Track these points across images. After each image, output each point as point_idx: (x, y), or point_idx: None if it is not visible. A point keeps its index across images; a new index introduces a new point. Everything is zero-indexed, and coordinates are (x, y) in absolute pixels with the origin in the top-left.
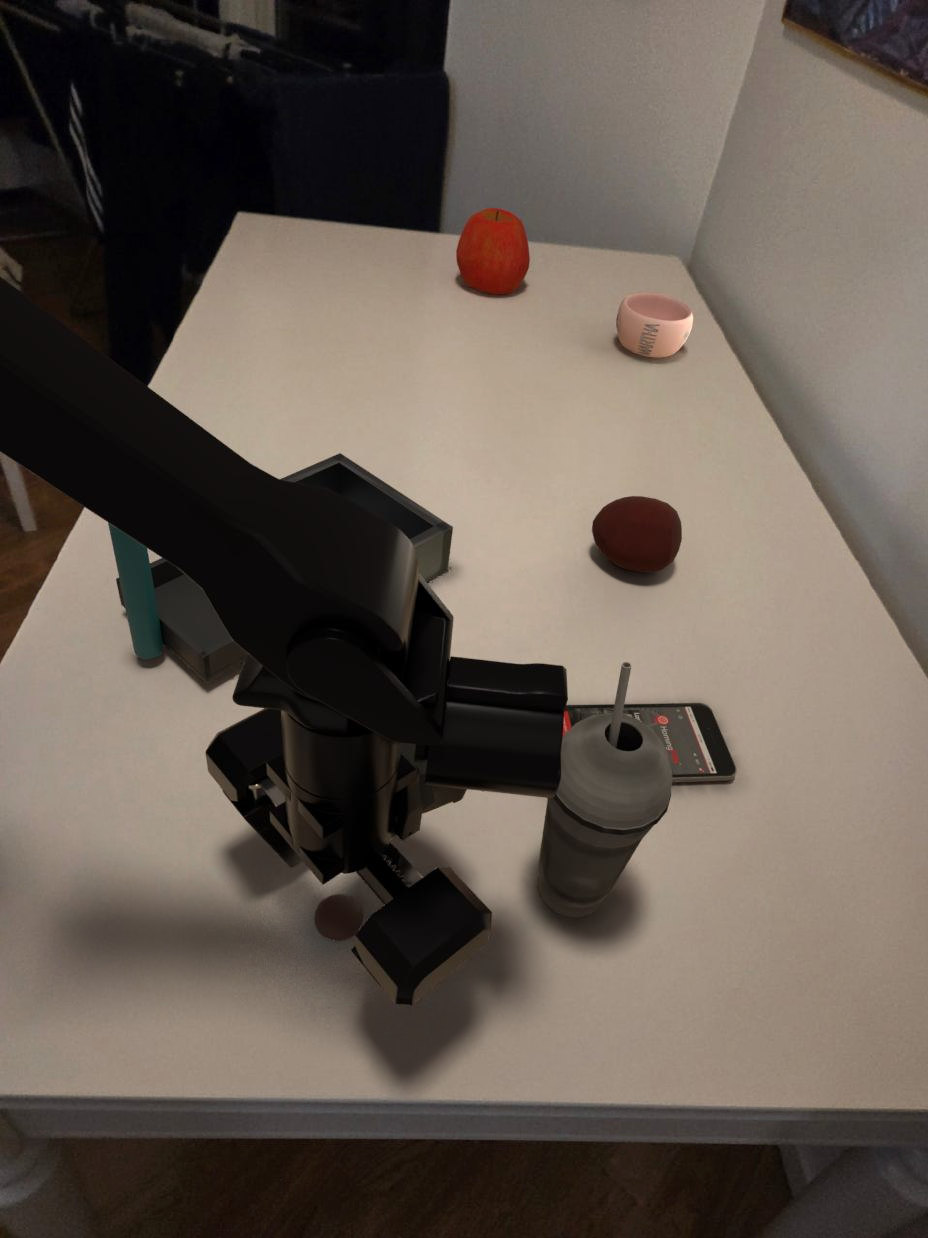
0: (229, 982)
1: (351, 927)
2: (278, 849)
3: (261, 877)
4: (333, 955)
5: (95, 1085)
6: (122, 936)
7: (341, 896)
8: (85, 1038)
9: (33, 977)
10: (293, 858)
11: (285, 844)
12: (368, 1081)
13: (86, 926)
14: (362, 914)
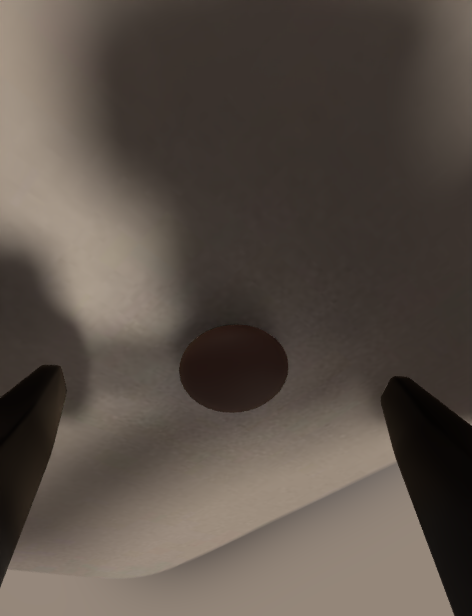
0: (189, 478)
1: (279, 382)
2: (22, 516)
3: None
4: None
5: (192, 558)
6: (41, 519)
7: (207, 363)
8: (142, 555)
9: (44, 564)
10: (52, 422)
11: (15, 509)
12: None
13: None
14: (272, 346)
